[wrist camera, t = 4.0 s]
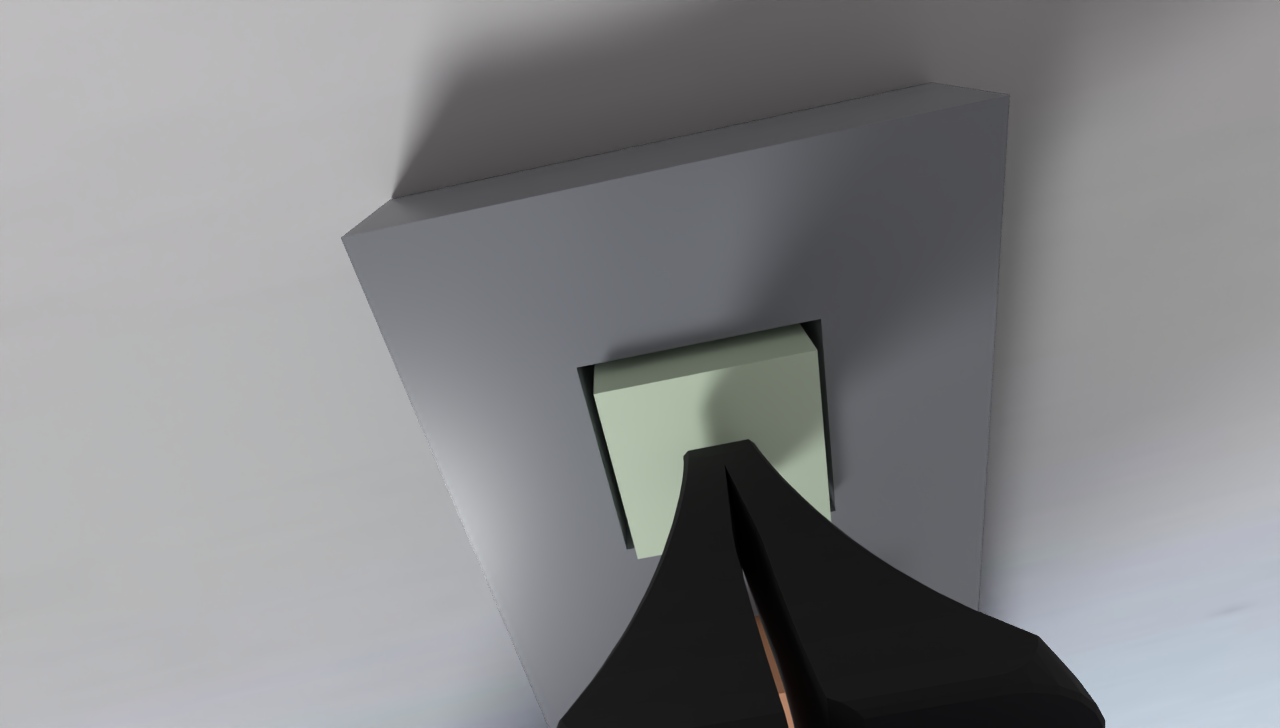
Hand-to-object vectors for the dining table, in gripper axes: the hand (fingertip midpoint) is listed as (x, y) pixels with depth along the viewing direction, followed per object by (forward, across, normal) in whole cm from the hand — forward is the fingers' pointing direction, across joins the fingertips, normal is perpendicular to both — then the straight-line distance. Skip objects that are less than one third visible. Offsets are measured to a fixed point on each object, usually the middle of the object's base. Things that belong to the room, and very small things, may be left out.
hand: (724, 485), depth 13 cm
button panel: (+4, 0, +8) cm, 9 cm away
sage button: (+4, 0, 0) cm, 4 cm away
